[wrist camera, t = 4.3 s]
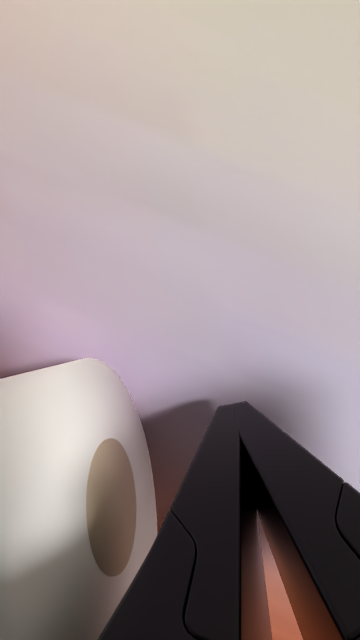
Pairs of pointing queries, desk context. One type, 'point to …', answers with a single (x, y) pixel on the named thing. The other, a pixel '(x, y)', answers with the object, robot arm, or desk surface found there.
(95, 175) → the desk surface
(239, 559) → the robot arm
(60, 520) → the roll
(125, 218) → the desk surface
